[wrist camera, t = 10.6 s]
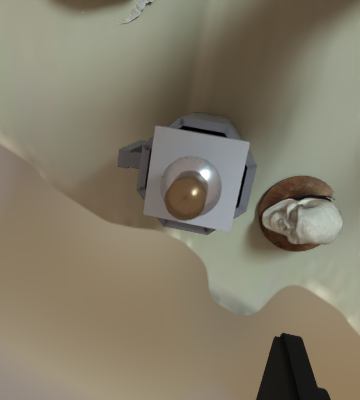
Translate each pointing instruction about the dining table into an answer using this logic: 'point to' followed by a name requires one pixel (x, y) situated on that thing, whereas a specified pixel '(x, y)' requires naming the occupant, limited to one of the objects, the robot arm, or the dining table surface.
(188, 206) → the plunger
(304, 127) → the dining table surface
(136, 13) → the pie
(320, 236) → the skull
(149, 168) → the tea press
